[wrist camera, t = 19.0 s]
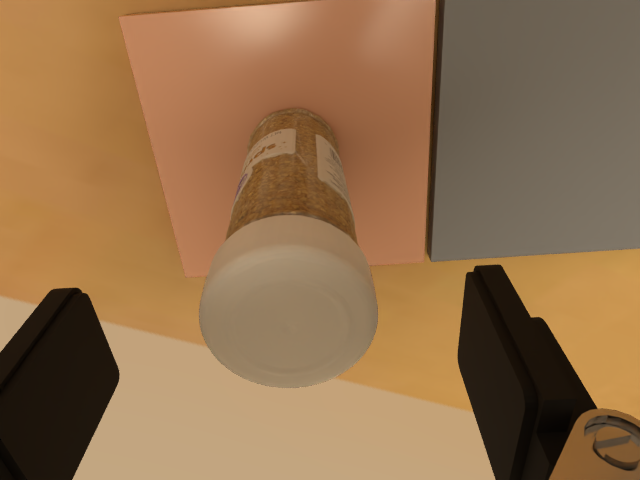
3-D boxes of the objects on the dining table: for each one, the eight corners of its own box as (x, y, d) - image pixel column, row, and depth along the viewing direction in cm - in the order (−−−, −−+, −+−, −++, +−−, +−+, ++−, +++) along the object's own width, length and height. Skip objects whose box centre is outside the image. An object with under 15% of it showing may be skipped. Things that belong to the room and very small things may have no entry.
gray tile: (756, -37, 20) (776, -37, 20) (665, 237, 27) (676, 245, 26) (440, -11, 21) (445, -10, 20) (427, 252, 28) (431, 261, 27)
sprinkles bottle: (247, 103, 22) (189, 245, 10) (344, 109, 23) (394, 254, 11) (247, 193, 24) (199, 394, 13) (335, 198, 25) (369, 398, 13)
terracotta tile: (431, -10, 21) (435, -9, 20) (420, 252, 28) (423, 262, 27) (126, 14, 21) (118, 16, 20) (189, 267, 28) (185, 277, 27)
